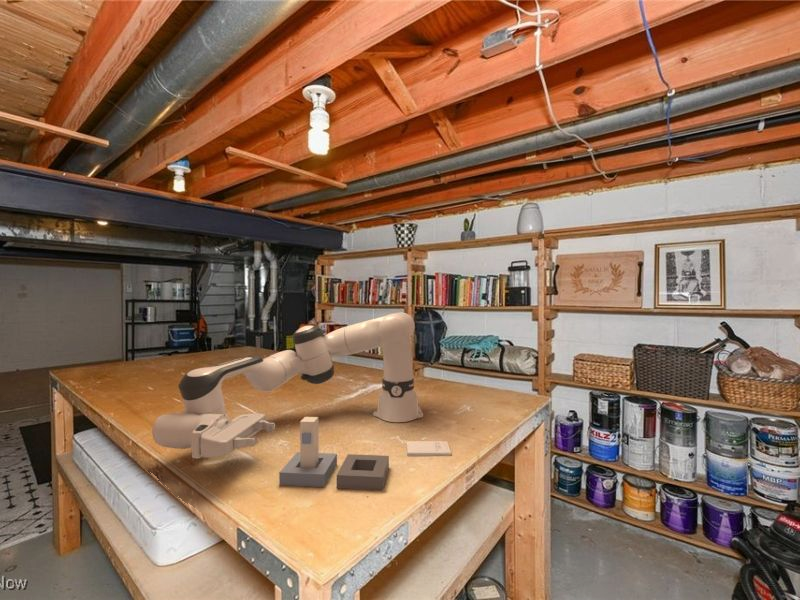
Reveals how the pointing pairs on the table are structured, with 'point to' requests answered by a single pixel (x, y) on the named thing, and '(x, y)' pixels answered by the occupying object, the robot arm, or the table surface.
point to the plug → (309, 442)
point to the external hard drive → (428, 448)
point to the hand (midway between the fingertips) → (265, 433)
